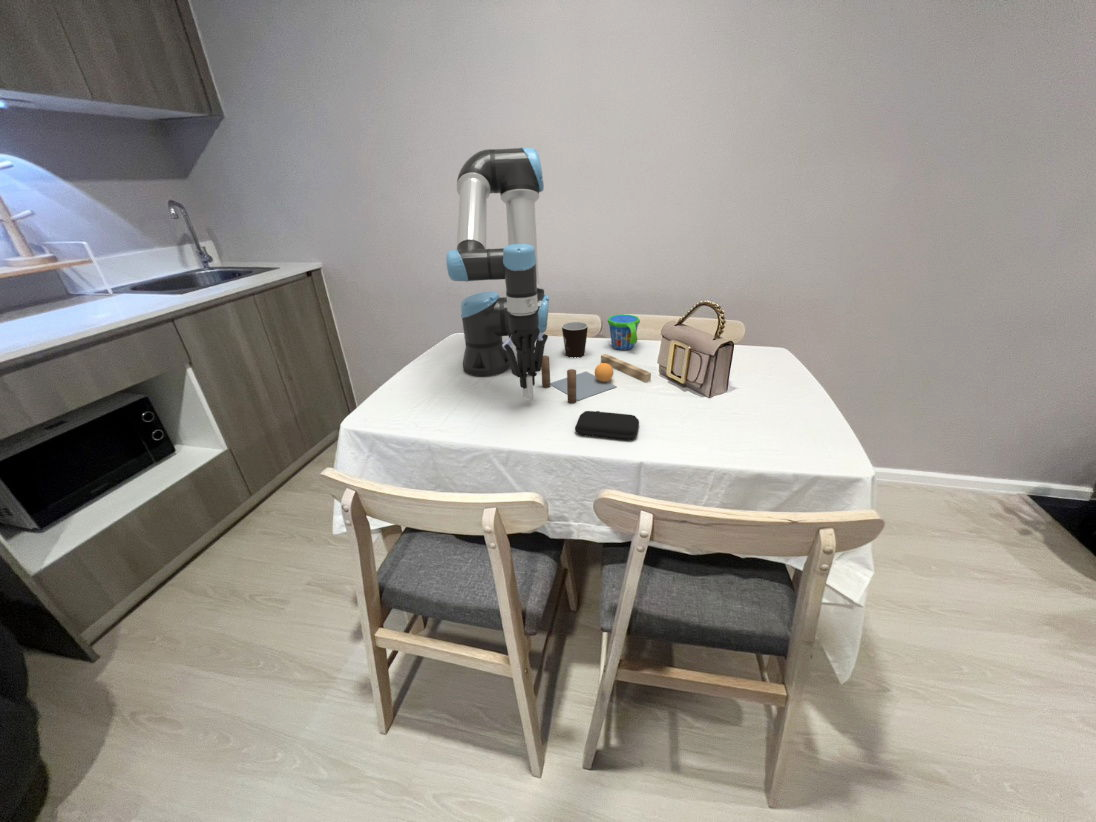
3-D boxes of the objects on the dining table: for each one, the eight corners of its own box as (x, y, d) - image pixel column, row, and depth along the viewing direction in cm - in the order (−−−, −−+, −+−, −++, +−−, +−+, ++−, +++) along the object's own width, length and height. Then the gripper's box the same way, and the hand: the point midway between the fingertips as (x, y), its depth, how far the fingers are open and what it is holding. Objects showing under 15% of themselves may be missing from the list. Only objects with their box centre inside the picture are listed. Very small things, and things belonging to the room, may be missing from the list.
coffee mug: (586, 359, 151) (586, 330, 146) (560, 358, 153) (559, 329, 148) (590, 347, 161) (590, 319, 156) (566, 346, 163) (565, 318, 158)
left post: (540, 386, 134) (539, 357, 130) (547, 383, 136) (546, 355, 131) (545, 388, 133) (543, 359, 128) (552, 386, 134) (550, 357, 130)
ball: (609, 365, 138) (600, 381, 139) (597, 357, 135) (587, 374, 135) (620, 370, 134) (610, 387, 134) (608, 363, 130) (598, 379, 131)
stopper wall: (600, 362, 149) (601, 355, 147) (605, 360, 150) (605, 353, 148) (645, 382, 134) (646, 374, 133) (650, 380, 135) (651, 372, 134)
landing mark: (548, 384, 135) (548, 383, 135) (586, 371, 142) (586, 371, 142) (578, 400, 125) (578, 400, 125) (616, 387, 132) (616, 386, 132)
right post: (565, 401, 125) (565, 370, 121) (572, 398, 126) (572, 368, 122) (571, 404, 124) (570, 373, 119) (578, 401, 125) (578, 371, 120)
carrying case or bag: (639, 421, 115) (582, 416, 119) (640, 410, 114) (581, 405, 117) (635, 444, 106) (573, 437, 109) (636, 432, 104) (573, 426, 108)
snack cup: (601, 341, 166) (601, 313, 161) (628, 338, 168) (629, 310, 163) (615, 356, 153) (617, 326, 148) (645, 353, 154) (647, 323, 150)
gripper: (507, 320, 107) (514, 409, 118) (553, 309, 113) (556, 395, 124) (492, 313, 112) (500, 399, 123) (536, 303, 119) (540, 386, 130)
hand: (528, 397), depth 124 cm, fingers closed
